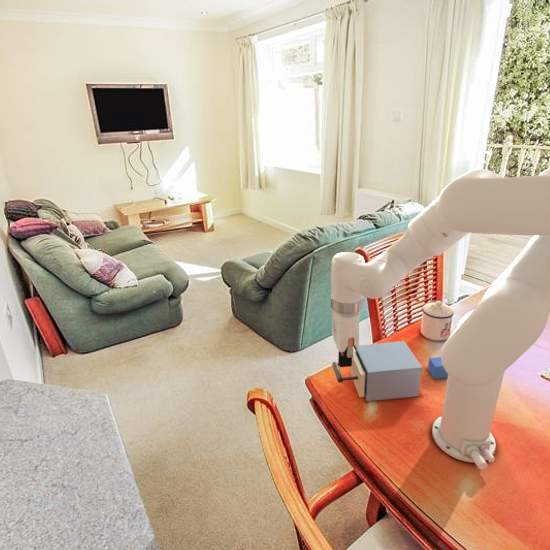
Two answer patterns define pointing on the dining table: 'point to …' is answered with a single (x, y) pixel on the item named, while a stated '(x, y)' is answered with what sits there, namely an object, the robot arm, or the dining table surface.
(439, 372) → the blue wooden cube
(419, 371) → the grey drawer cabinet
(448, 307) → the teacup with lid
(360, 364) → the drawer
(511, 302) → the robot arm
